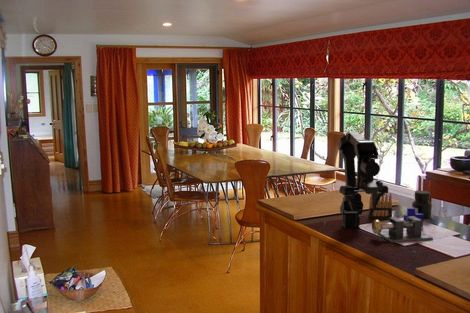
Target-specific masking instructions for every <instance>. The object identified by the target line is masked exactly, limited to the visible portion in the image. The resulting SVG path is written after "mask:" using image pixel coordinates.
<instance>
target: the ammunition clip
mask: <svg viewBox="0 0 470 313" xmlns="http://www.w3.org/2000/svg"><path fill="white" fill-rule="evenodd" d="M369 196H370V197H369V206H368V216H367V218H368V219H372V220H379V219H381V220H382V219H388V220H389V218H392V217H393V202H392V199H393V198H392V193H389V195H388V193H385V195H383V196H382V197H381V198H380V199H379V201H378V204H377V206H376V208H375V210H373V207H372V194H369Z"/></svg>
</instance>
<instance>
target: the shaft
mask: <svg viewBox="0 0 470 313" xmlns="http://www.w3.org/2000/svg"><path fill="white" fill-rule="evenodd" d="M407 228H413V222H405V221H404V227H403V229H407ZM389 229H395V223H389V222H383V223H381V221H380V220H379V219H372V222H371V230H372V232H373V234H374V235H379V234H380V233H381V231H382V230H385V231H386V230H389Z"/></svg>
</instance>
